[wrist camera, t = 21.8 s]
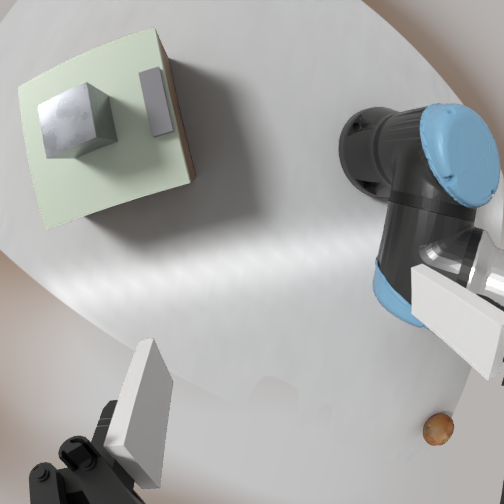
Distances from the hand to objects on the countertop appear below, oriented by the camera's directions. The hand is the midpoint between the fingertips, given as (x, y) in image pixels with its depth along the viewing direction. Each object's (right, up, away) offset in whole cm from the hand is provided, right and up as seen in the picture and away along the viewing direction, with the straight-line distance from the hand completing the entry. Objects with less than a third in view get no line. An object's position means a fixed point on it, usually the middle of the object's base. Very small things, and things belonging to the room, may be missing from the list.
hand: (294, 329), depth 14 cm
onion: (+51, -46, +55) cm, 88 cm away
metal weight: (-21, +18, +16) cm, 32 cm away
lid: (-21, +19, +18) cm, 33 cm away
